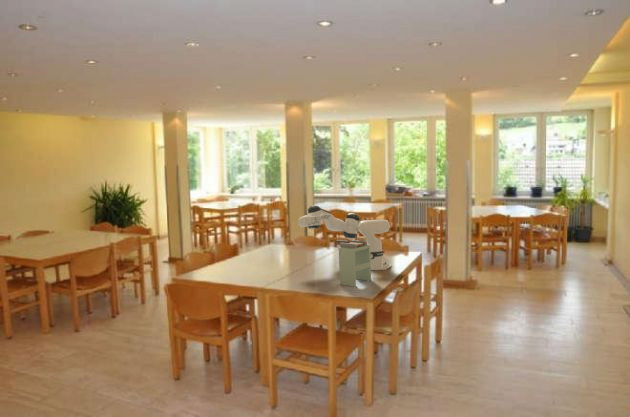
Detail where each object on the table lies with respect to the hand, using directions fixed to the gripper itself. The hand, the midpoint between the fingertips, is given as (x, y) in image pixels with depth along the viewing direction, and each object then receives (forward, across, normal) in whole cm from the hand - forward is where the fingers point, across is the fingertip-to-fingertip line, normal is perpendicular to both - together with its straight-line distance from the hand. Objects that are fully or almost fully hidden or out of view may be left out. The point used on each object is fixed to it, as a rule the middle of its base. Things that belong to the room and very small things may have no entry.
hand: (325, 216), depth 384 cm
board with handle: (+23, +6, -24) cm, 34 cm away
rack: (+22, +5, -50) cm, 55 cm away
